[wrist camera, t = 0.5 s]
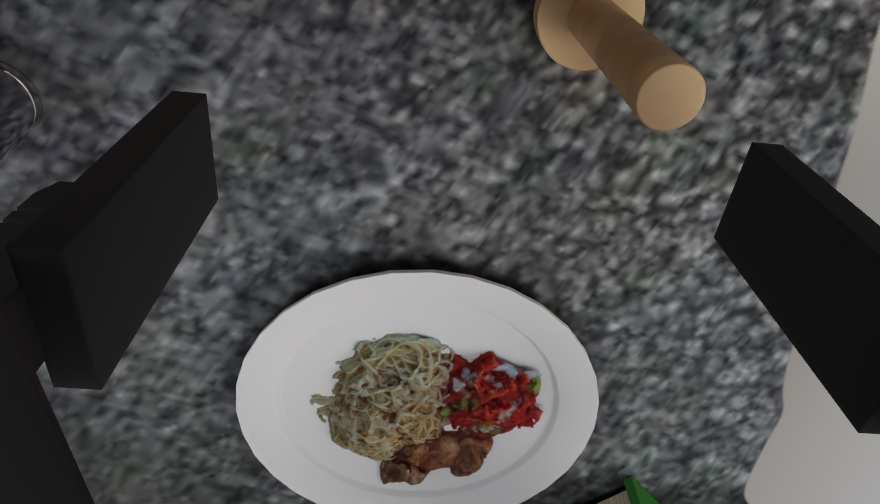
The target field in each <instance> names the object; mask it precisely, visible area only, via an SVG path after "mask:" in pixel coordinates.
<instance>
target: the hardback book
mask: <svg viewBox="0 0 880 504" xmlns="http://www.w3.org/2000/svg"><path fill="white" fill-rule="evenodd" d="M623 482H624V485H625V488H626V490H625V491H623V492H621V493H619V494H617V495H615V496H612V497H610V498H608V499H606V500H604V501H601V502H599V503H597V504H659V503H658V502H657V501H656V500H655V499H654V498H653V497H652V496H651V495H650V494H649V493H648V492H647V491H646V490H645V489H644V488H643V487H642V486H641V485H640V484H639V483H638V482H637V481H636V480H635V479H634V478H633V477H632V476H630V477H628V478H626V479H624V480H623ZM572 504H575V503H572Z"/></svg>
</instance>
